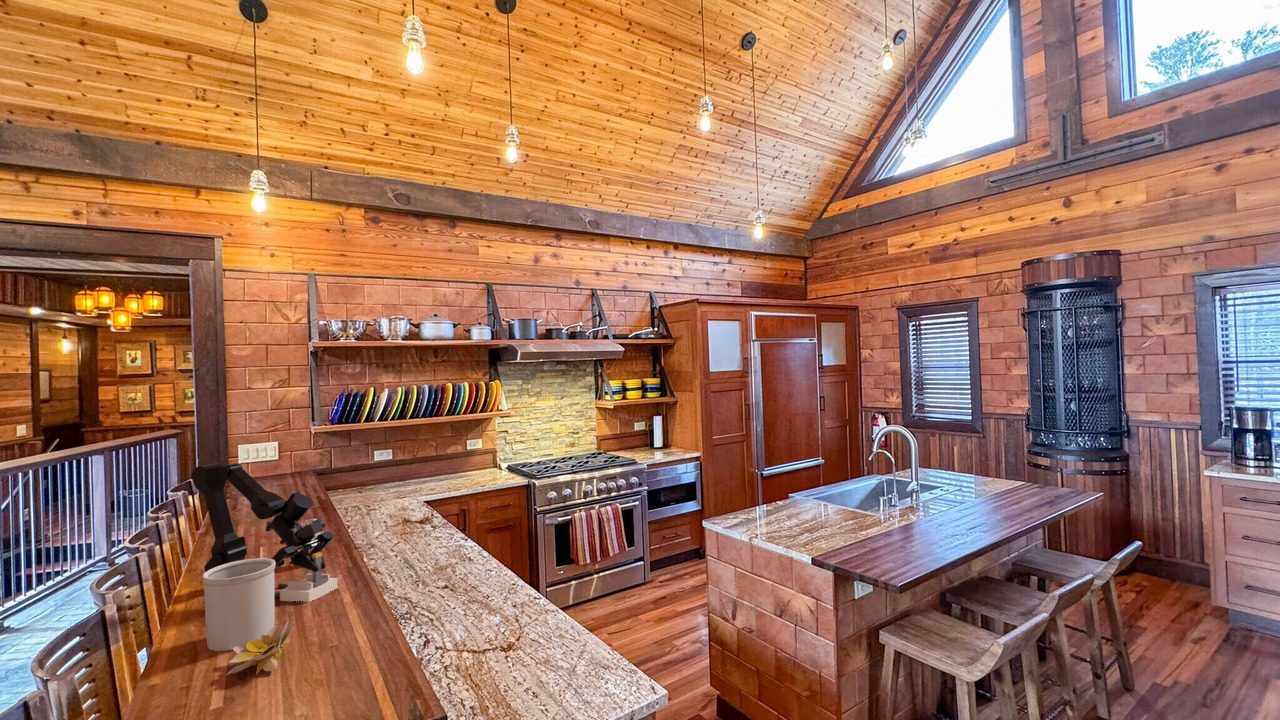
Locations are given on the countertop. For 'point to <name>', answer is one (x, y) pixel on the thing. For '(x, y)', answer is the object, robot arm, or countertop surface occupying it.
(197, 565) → the countertop surface
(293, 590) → the box
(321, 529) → the robot arm
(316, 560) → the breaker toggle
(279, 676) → the countertop surface
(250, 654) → the decorative flower
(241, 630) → the utensil holder
